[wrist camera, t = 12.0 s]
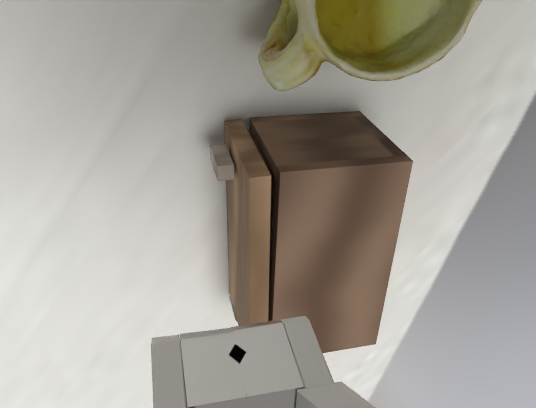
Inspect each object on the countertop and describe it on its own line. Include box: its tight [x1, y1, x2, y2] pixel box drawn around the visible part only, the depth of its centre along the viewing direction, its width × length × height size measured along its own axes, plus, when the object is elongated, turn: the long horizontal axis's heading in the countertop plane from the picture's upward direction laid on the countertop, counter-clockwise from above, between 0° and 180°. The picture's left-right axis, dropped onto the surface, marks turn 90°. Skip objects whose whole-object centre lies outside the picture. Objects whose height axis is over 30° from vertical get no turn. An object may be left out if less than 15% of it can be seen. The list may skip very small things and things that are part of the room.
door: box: [210, 120, 271, 326], centre depth 35 cm, size 2×16×8 cm, turn 179°
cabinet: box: [249, 111, 413, 353], centre depth 36 cm, size 8×15×8 cm, turn 178°
